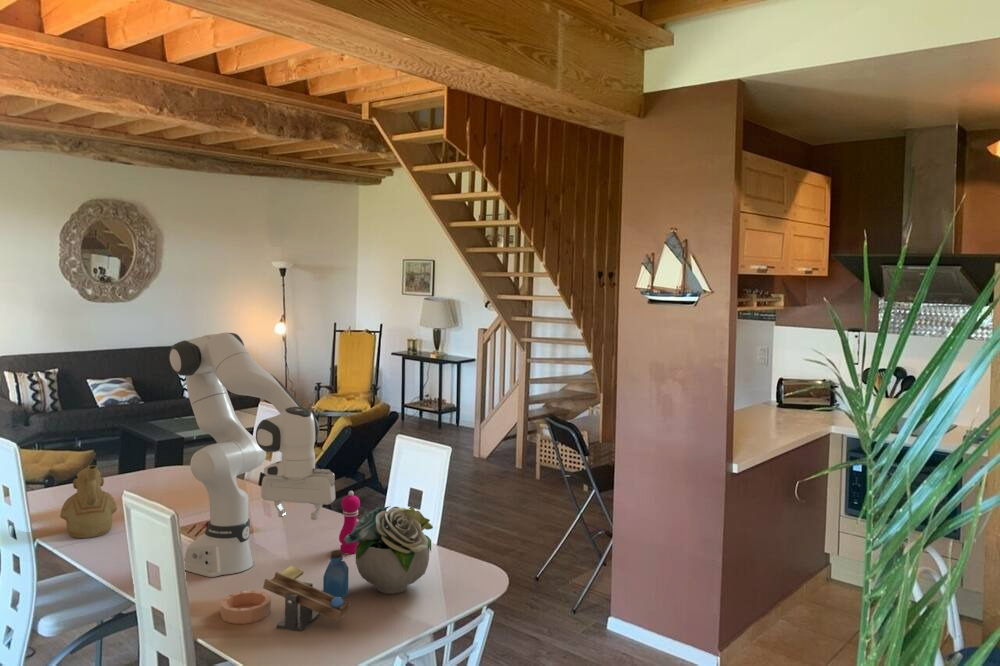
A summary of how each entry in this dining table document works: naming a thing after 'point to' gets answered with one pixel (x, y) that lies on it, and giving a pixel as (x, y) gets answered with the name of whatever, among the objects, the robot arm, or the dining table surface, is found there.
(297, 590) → the lever
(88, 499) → the ceramic vessel
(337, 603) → the ball
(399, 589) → the flower arrangement
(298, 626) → the fulcrum
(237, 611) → the orange round tray
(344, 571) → the perfume bottle
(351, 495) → the pepper mill
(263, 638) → the dining table surface
